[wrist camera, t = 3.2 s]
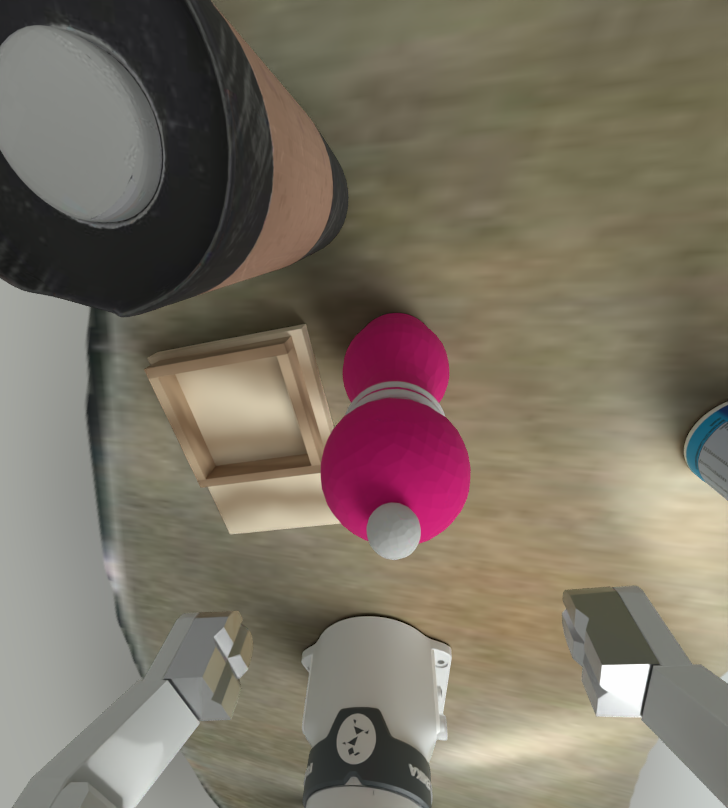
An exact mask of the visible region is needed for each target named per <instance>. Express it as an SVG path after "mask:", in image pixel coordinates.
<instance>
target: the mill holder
mask: <svg viewBox="0 0 728 808" xmlns="http://www.w3.org/2000/svg"><path fill="white" fill-rule="evenodd" d="M148 360H149V363H150V365H151V366H149V367H147V368H145V369H144V370H145V372H146V375H147V377H148V379H149V381H150V383H151V385H152V387H153V389H154V391H155V393H156V395H157V397H158V400H159V402H160V404H161V406H162V408H163V410H164V412H165V414H166V416H167V418H168V420H169V422H170V425H171V427H172V429H173V431H174V433H175V435H176V437H177V439H178V441H179V443H180V445H181V447H182V450H183V452H184V454H185V456H186V458H187V460H188V462H189V464H190V466H191V468H192V470H193V472H194V475H195V477H196V479H197V481H198V483H199V485H200V487H201V488H203V487H208V488H209V490H210V493H211V495H212V497H213V499H214V501H215V503H216V505H217V507H218V510H219V512H220V514H221V516H222V518H223V520H224V522H225V524H226V527H227V529H228V531H229V533H230V534H239V533H249V532H259V531H269V530H279V529H289V528H299V527H309V526H319V525H329V524H339V523H340V522H339V520H338V519H337V518H336V517H335V516H334V514H333V513H332V512H331V510H330V508H329V507H328V505H327V502H326V499H325V496H324V494H323V491H322V485H321V474H320V473H321V460H322V455H323V450H324V447H325V445H326V442H327V439H328V437H329V436H330V434H331V432H332V430H333V429H334V426H333V422H332V419H331V415H330V411H329V408H328V404H327V400H326V396H325V393H324V389H323V385H322V382H321V378H320V374H319V371H318V367H317V363H316V360H315V356H314V352H313V349H312V345H311V341H310V337H309V334H308V330H307V326H306V324H302V325H297V326H292V327H286V328H281V329H276V330H271V331H265V332H260V333H255V334H250V335H244V336H239V337H234V338H229V339H223V340H218V341H213V342H208V343H203V344H197V345H192V346H187V347H182V348H176V349H171V350H166V351H161V352H157V353H155V354H153V355H151V356H150V357H148Z"/></svg>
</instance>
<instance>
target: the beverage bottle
mask: <svg viewBox="0 0 728 808" xmlns="http://www.w3.org/2000/svg"><path fill="white" fill-rule="evenodd" d="M684 457H685V461H686V463H687V465H688V467H689V468H690V470H691V471H692V472H693V473H694V474H695V475H697V476H698V477H699V478H700V479H701V480H703V481H704V482H706V483H707V484H708V485H709V486H711V487H712V488H713V489H714V490H716V491H717V492H718V493H719V494H720V495H722V496H723V497H724V498H725V499H726V500H728V401H727V402H725V403H723V404H721V405H719V406H717V407H715V408H714V409H712V410H711V411H709V412H708V413H706V414H705V415H704V416H703V417H702V418H701V419H700V420H699V421H698V422H697V423H696V424H695V425H694V426H693V428H692V429H691V431H690V432H689V434H688V436H687V438H686V441H685V445H684Z"/></svg>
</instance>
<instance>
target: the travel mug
mask: <svg viewBox="0 0 728 808" xmlns="http://www.w3.org/2000/svg"><path fill="white" fill-rule="evenodd" d="M347 209H348V188H347V183H346V179H345V176H344V173H343V170H342V168H341V166H340V164H339V162H338V160H337V159H336V157H335V155H334V154H333V152H332V151H331V149H330V147H329V146H328V144H327V143H326V141H325V140H324V138H323V137H322V135H321V134H320V132H319V131H318V129H317V128H316V126H315V124H314V123H313V122H312V120H311V119H310V118H309V116H308V115H307V114H306V113H305V111H304V110H303V109H302V108H301V107H300V105H299V104H298V103H297V102H296V101H295V99H294V98H293V97H292V96H291V95H290V94H289V92H288V91H287V90H286V89H285V88H284V86H283V85H282V84H281V83H280V82H279V81H278V79H277V78H276V77H275V76H274V75H273V74H272V72H271V71H270V70H269V69H268V68H267V66H266V65H265V64H264V63H263V62H262V61H261V59H260V58H259V57H258V56H257V55H256V53H255V52H254V51H253V50H252V49H251V48H250V46H249V45H248V44H247V43H246V42H245V41H244V39H243V38H242V37H241V36H240V35H239V33H238V32H237V31H236V30H235V29H234V28H233V26H232V25H231V24H230V23H229V22H228V20H227V19H226V18H225V17H224V16H223V15H222V13H221V12H220V11H219V10H218V9H217V8H216V6H215V5H214V4H213V3H212V2H211V1H210V0H0V278H1V279H3V280H4V281H6V282H7V283H9V284H11V285H13V286H14V287H17V288H19V289H21V290H24V291H27V292H32V293H37V294H43V295H48V296H53V297H57V298H61V299H65V300H68V301H72V302H75V303H79V304H82V305H86V306H89V307H93V308H97V309H101V310H105V311H108V312H112V313H115V314H117V315H118V316H120V317H130V316H135V315H139V314H143V313H146V312H149V311H152V310H156V309H158V308H161V307H164V306H167V305H170V304H173V303H176V302H179V301H182V300H185V299H188V298H191V297H194V296H197V295H200V294H203V293H207V292H210V291H213V290H216V289H219V288H222V287H225V286H228V285H231V284H234V283H238V282H241V281H244V280H247V279H250V278H253V277H256V276H259V275H262V274H265V273H268V272H272V271H275V270H278V269H281V268H284V267H286V266H289V265H291V264H293V263H295V262H297V261H299V260H301V259H303V258H305V257H307V256H309V255H311V254H313V253H315V252H317V251H319V250H320V249H322V248H324V247H325V246H326V245H328V244H329V243H330V242H331V241H332V240H333V239H334V238H335V237H336V235H337V234H338V233H339V231H340V229H341V228H342V226H343V223H344V221H345V218H346V214H347Z"/></svg>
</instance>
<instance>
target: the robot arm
mask: <svg viewBox="0 0 728 808" xmlns="http://www.w3.org/2000/svg"><path fill="white" fill-rule="evenodd" d="M563 602H564V605H565V607H566V610H565V611H564V612H563V613H562V624H563V629H564V635H565V638H566V641H567V644H568V647H569V650H570V652H571V655H572V658H573V659H574V660H575V661H576V662H578V663H579V664H580V665H581V666H582V667H583V668H582V682H583V685H584V687H585V690H586V692H587V695H588V697H589V700H590V702H591V705H592V707H593V709H594V712H595V714H596V716H607V717H642V719H641V720H642V721H643V722H644V723H645V724H646V725H647V726H648V727H649V728H650V729H651V730H652V731H653V732H654V733H655V734H656V735H657V736H658V737H659V738H660V739H661V740H662V741H663V742H664V743H665V744H666V746H667V747H669V749H670V750H671V751H672V752H673V753H674V754H675V755H676V756H677V757H678V758H679V759H680V760H681V761H682V762H683V763H684V764H685V765H686V766H687V767H688V768H689V769H690V770H691V771H692V772H693V773H694V774H695V775H696V776H697V777H698V778H699V780H700V781H701V782H703V784H704V785H706V787H707V788H708V789H709V790H710V791H711V792H712V793H713V794H714V795H715V796H716V797H717V798H718V799H719V800H720V801H721V802H722V803H723V804H724V805H725V806H726V807H727V808H728V684H727V683H726V682H725V681H723V680H722V679H720V678H719V677H718V676H716V675H715V674H713V673H712V672H711V671H709V670H708V669H707V668H705V667H704V666H702V665H701V664H692V663H691V662H690V660H689V659H688V657H687V656H686V654H685V653H684V651H683V650H682V648H681V647H680V645H679V644H678V642H677V641H676V639H675V638H674V636H673V635H672V633H671V632H670V630H669V629H668V627H667V626H666V624H665V623H664V621H663V620H662V618H661V617H660V615H659V614H658V612H657V611H656V609H655V608H654V606H653V605H652V603H651V602H650V600H649V599H648V598H647V596H646V595H645V593H644V592H643V590H642V589H640V588H639V587H638V586H634V585H633V586H621V587H598V588H585V589H572V590H565V591H564V592H563ZM242 620H243V618H242V616H241V614H240V613H239V611H219V612H194V613H183V614H182V615H181V616H180V617H179V618H178V619H177V620H176V622H175V624H174V626H173V628H172V629H171V631H170V633H169V635H168V637H167V638H166V640H165V642H164V644H163V645H162V647H161V649H160V651H159V653H158V654H157V656H156V658H155V660H154V662H153V663H152V665H151V667H150V669H149V671H148V672H147V674H146V676H145V678H144V680H140V681H137V682H136V683H135V684H134V685H133V686H131V687H130V688H129V689H128V690H127V691H126V692H125V693H124V694H123V695H122V696H121V697H120V698H118V699H117V700H116V701H115V702H114V703H113V704H112V705H111V706H110V707H109V708H107V709H106V710H105V711H104V712H103V713H102V714H101V715H100V716H99V717H98V718H97V719H96V720H94V721H93V722H92V723H91V724H90V725H89V726H88V727H87V728H86V729H85V730H83V731H82V732H81V733H80V734H79V735H78V736H77V737H76V738H75V739H74V740H73V741H71V742H70V743H69V744H68V745H67V746H66V747H65V748H64V749H63V750H62V751H61V752H59V753H58V754H57V755H56V756H55V757H54V758H53V759H52V760H51V761H50V762H48V763H47V764H46V765H45V766H44V767H43V768H42V769H41V770H40V771H39V772H38V773H36V774H35V775H34V776H33V777H32V778H31V779H30V781H29V782H28V784H27V786H26V787H25V788H24V790H23V792H22V793H21V795H20V796H19V798H18V799H17V801H16V802H15V804H14V805H13V807H12V808H135V807H136V806H137V804H138V803H139V802H140V800H141V799H142V798H143V797H144V795H145V794H146V793H147V791H148V790H149V789H150V787H151V786H152V785H153V783H154V782H155V781H156V780H157V778H158V777H159V776H160V774H161V773H162V772H163V770H164V769H165V768H166V767H167V765H168V764H169V763H170V761H171V760H172V759H173V757H174V756H175V755H176V754H177V752H178V751H179V750H180V748H181V747H182V746H183V744H184V743H185V742H186V741H187V739H188V738H189V737H190V735H191V734H192V733H193V731H194V730H195V729H196V728H197V726H198V725H199V723H200V722H199V721H210V720H231V718H232V716H233V713H234V710H235V707H236V704H237V701H238V698H239V695H240V692H241V689H242V688H241V684H240V680H239V679H240V677H241V676H242V675H243V674H244V673H245V672H246V671H247V670H248V668H249V665H250V661H251V658H252V652H253V639H252V635H251V633H250V631H249V629H248V628H246V627H245V626H243V625H241V623H242ZM451 659H452V656H451V648H450V647H449V646H448V645H446V644H444V643H441V642H438V641H435V640H432V639H429V638H427V637H426V636H424V635H423V634H422V633H420V632H419V631H418V630H416V629H415V628H413V627H411V626H409V625H407V624H405V623H402V622H399V621H396V620H393V619H389V618H383V617H374V616H363V617H354V618H349V619H345V620H342V621H339V622H337V623H335V624H333V625H331V626H330V627H328V628H327V629H326V630H325V631H324V632H323V633H322V635H321V636H320V638H319V640H318V641H317V642H316V644H314V645H313V646H311V647H309V648H307V649H306V650H304V651H303V653H302V660H301V662H302V664H303V666H304V667H305V668H306V670H307V671H308V672H309V678H308V685H307V692H306V700H305V707H304V714H303V722H302V731H303V733H304V734H305V737H306V739H307V740H308V742H309V743H310V744H311V747H312V749H311V751H310V754H309V759H308V766H307V769H306V772H305V778H304V793H303V805H304V807H305V808H432V806H431V804H432V785H431V775H430V766H429V762H430V759H431V756H432V753H433V749H434V746H435V743H436V740H437V739H438V740H447V722H446V716H445V715H443V710H444V703H445V697H446V691H447V684H448V678H449V672H450V665H451Z"/></svg>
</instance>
